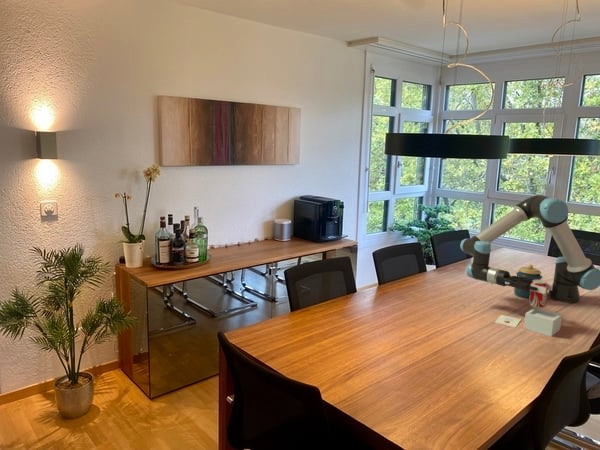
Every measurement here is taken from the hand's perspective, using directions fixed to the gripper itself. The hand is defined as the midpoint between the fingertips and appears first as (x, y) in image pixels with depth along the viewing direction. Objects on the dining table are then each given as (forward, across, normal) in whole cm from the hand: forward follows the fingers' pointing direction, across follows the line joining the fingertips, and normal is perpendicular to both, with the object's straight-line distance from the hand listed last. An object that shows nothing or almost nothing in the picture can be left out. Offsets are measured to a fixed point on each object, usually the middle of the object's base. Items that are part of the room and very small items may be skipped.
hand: (548, 289), depth 207 cm
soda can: (-4, 0, -9) cm, 10 cm away
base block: (0, +3, -18) cm, 18 cm away
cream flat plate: (-14, +6, -18) cm, 24 cm away
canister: (-24, -41, -18) cm, 51 cm away
